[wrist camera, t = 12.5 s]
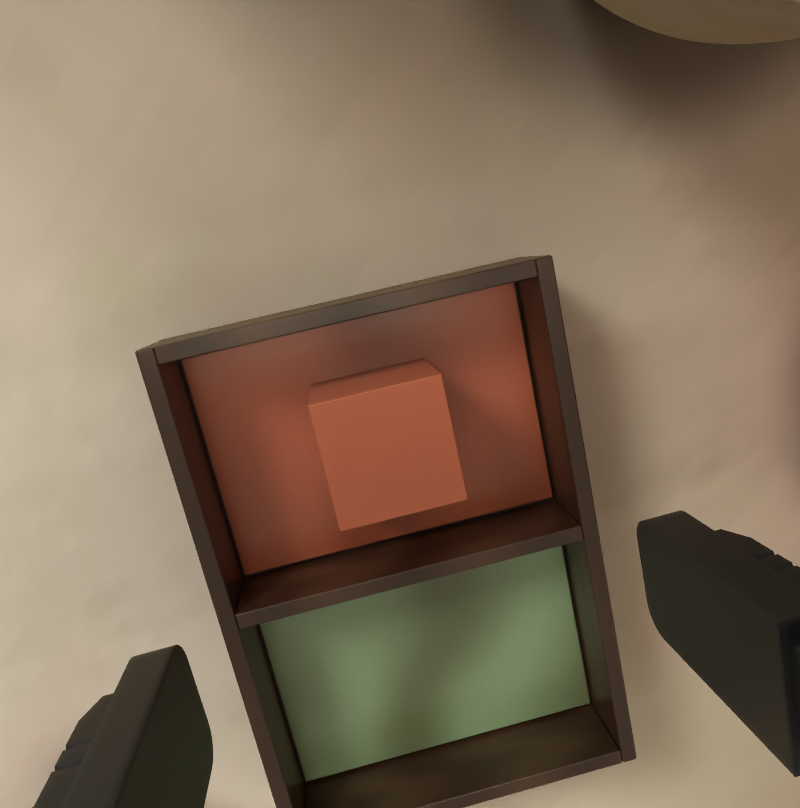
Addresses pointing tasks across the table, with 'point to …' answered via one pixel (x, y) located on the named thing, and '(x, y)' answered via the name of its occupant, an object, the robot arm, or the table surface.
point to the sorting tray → (403, 550)
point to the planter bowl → (713, 19)
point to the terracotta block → (387, 443)
